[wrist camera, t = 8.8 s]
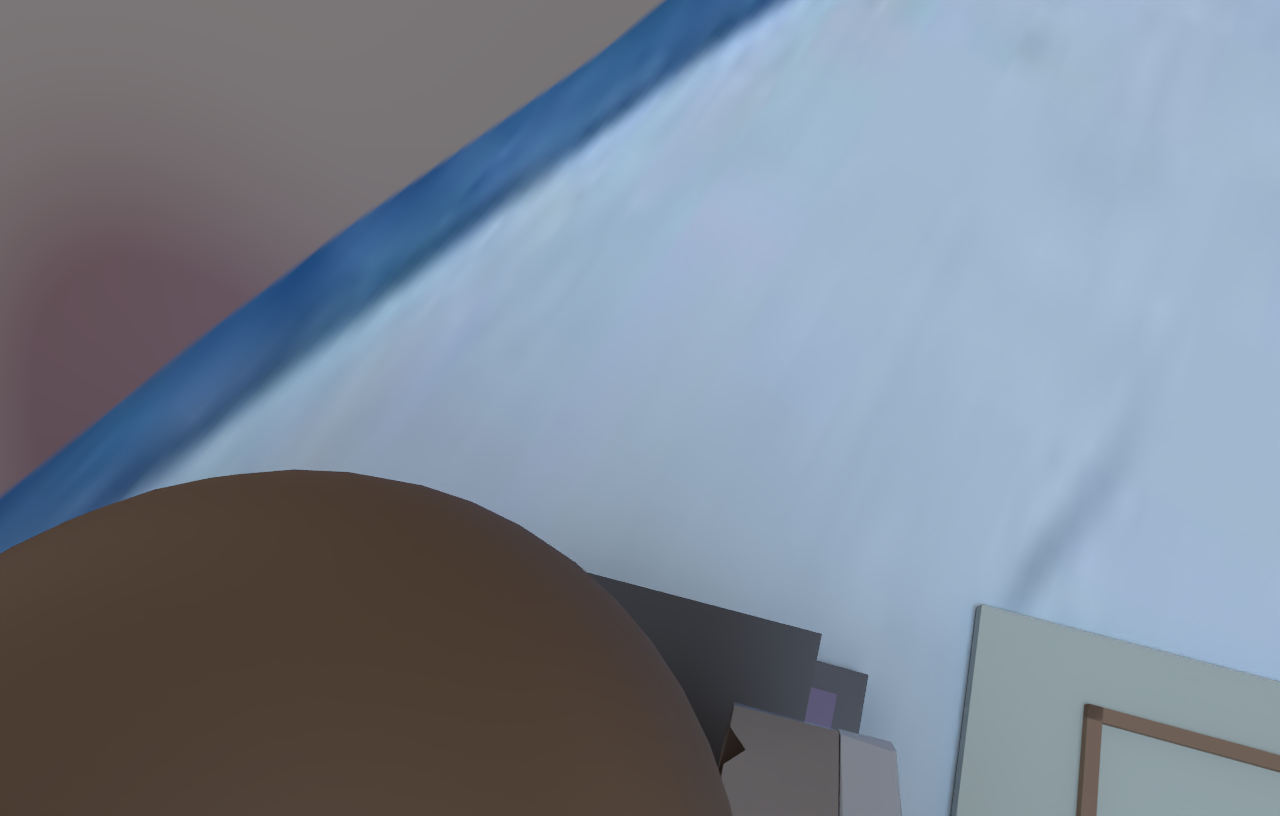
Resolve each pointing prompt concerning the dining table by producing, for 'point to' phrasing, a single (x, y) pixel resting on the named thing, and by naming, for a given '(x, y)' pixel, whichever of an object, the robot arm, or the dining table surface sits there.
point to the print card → (1109, 728)
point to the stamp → (359, 663)
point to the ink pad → (836, 698)
